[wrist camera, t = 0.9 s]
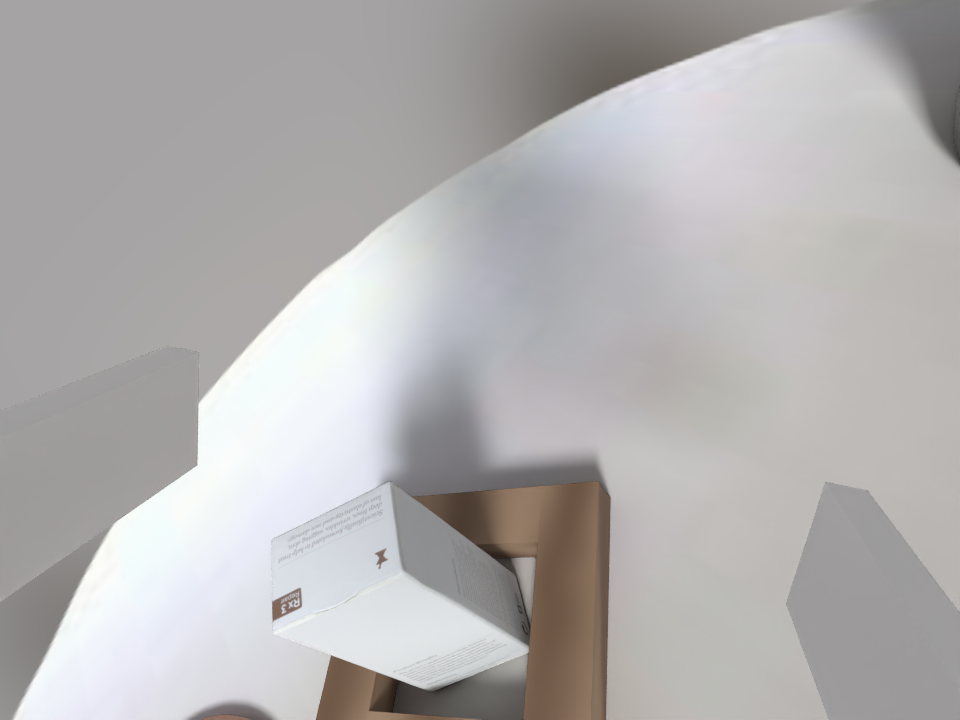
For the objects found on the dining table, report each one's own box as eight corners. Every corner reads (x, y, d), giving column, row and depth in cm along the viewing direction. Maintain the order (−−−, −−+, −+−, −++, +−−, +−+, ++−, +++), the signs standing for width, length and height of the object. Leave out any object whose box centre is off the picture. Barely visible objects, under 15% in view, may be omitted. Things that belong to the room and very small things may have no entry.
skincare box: (516, 571, 36) (394, 466, 27) (539, 657, 32) (410, 570, 24) (414, 616, 37) (266, 529, 28) (427, 703, 34) (266, 635, 25)
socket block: (610, 497, 35) (598, 481, 34) (603, 820, 28) (587, 815, 26) (386, 514, 41) (367, 500, 40) (327, 782, 34) (302, 777, 32)
